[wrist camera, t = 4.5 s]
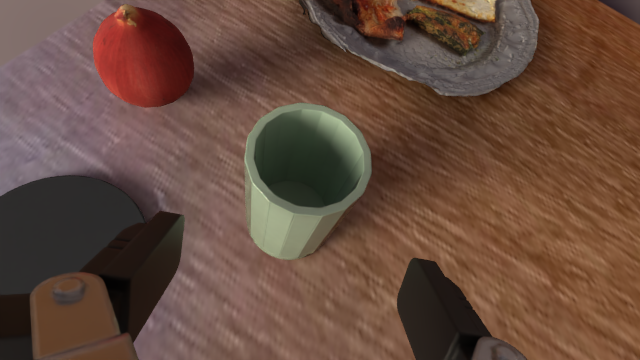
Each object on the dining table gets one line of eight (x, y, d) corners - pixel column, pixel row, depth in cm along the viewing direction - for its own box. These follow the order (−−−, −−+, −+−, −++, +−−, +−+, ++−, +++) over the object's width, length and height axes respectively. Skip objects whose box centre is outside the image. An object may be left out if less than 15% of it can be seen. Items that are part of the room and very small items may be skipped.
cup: (285, 278, 22) (307, 243, 14) (228, 212, 23) (217, 144, 15) (346, 222, 24) (395, 164, 16) (292, 165, 25) (313, 84, 17)
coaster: (5, 398, 17) (-1, 400, 16) (-86, 247, 19) (-94, 245, 18) (183, 263, 21) (181, 261, 20) (94, 151, 23) (90, 147, 22)
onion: (116, 69, 26) (66, -34, 19) (196, 65, 27) (177, -31, 20) (117, 133, 24) (61, 45, 16) (204, 125, 25) (186, 42, 18)
